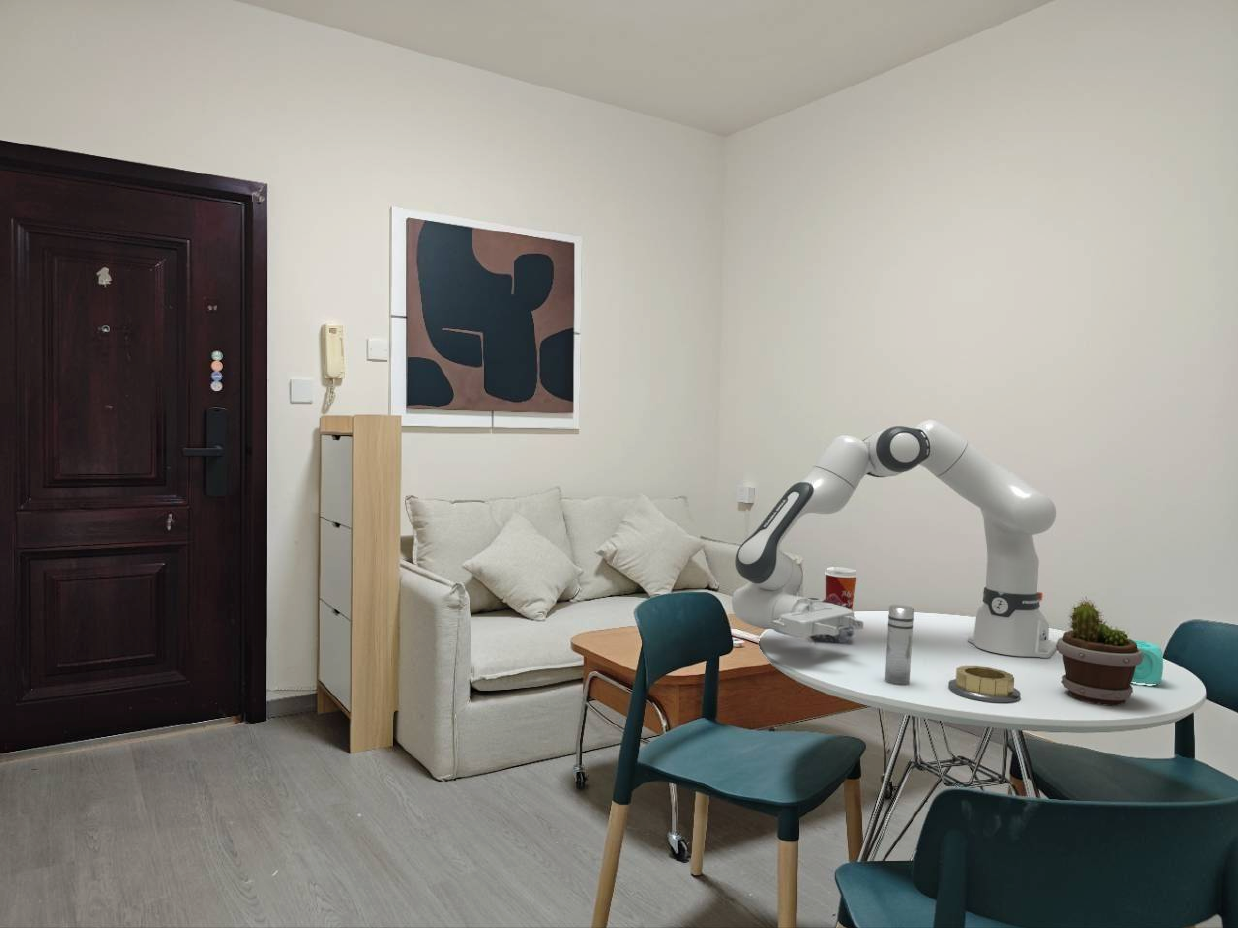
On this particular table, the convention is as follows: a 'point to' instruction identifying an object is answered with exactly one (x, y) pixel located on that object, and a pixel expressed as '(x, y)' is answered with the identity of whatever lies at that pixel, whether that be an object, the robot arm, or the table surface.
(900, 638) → the piston
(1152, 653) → the decorative dice
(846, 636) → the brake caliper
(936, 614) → the table surface
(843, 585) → the coffee cup
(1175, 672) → the table surface
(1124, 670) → the flowerpot
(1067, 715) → the table surface
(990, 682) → the ring seat
